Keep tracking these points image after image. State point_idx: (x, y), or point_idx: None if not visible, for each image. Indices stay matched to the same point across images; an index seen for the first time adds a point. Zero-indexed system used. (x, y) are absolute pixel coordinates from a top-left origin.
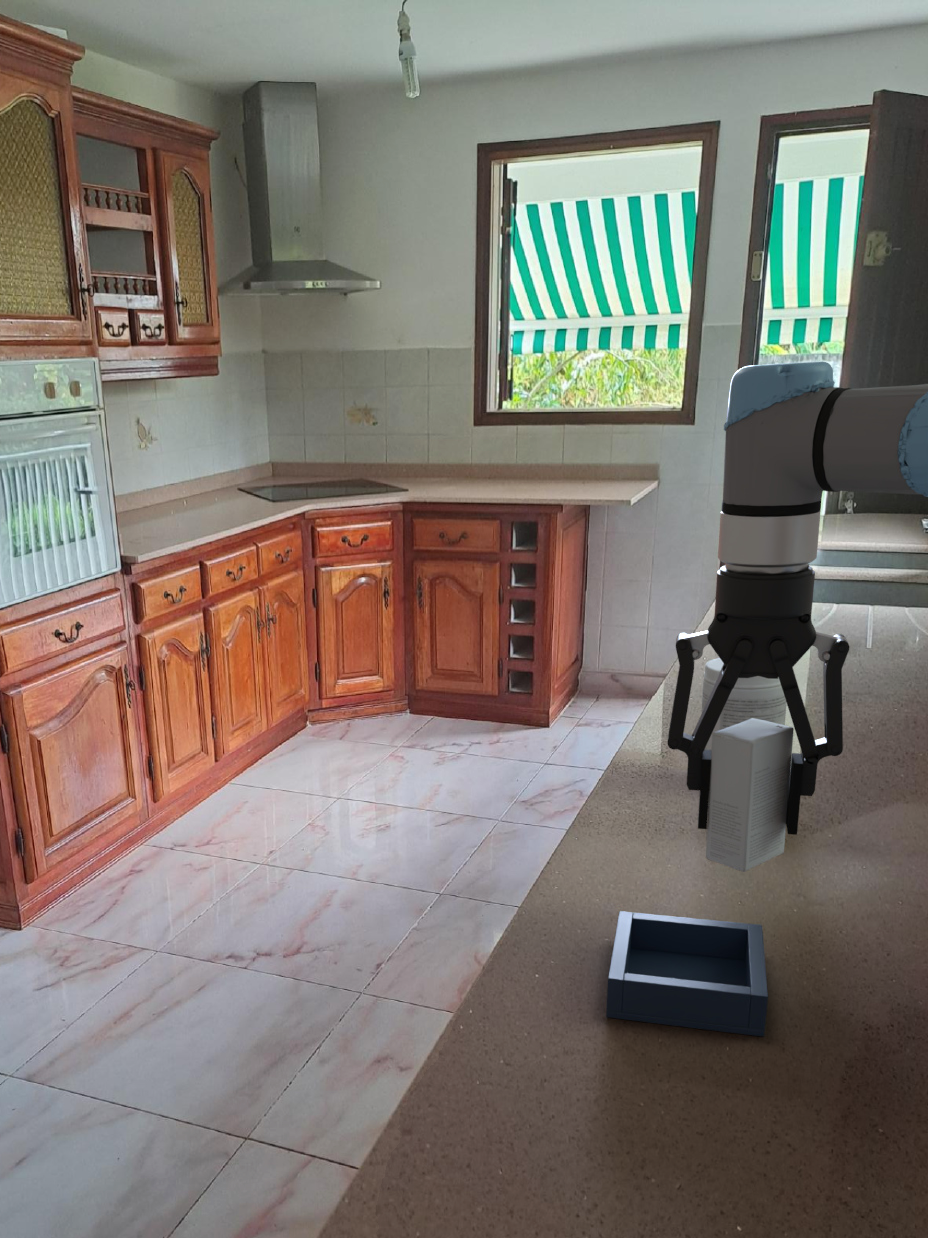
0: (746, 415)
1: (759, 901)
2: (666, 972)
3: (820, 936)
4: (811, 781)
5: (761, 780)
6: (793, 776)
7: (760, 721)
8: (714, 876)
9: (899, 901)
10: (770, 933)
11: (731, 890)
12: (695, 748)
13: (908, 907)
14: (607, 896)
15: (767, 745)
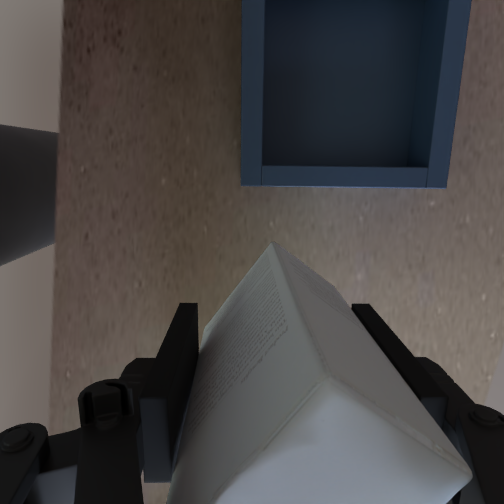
0: None
1: None
2: (362, 108)
3: (164, 267)
4: (128, 380)
5: (262, 339)
6: (173, 371)
7: None
8: None
9: (68, 377)
10: (224, 262)
11: None
12: (493, 423)
13: (58, 363)
14: (425, 322)
15: (255, 424)
